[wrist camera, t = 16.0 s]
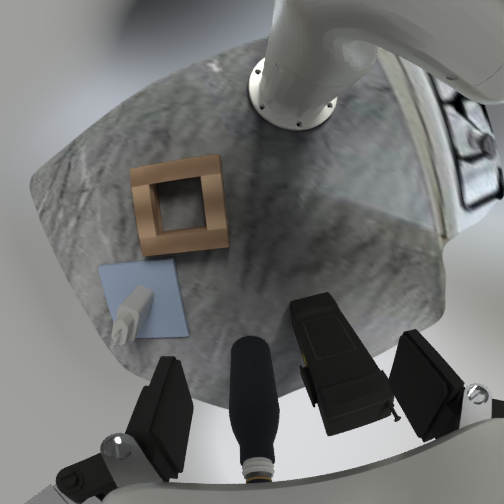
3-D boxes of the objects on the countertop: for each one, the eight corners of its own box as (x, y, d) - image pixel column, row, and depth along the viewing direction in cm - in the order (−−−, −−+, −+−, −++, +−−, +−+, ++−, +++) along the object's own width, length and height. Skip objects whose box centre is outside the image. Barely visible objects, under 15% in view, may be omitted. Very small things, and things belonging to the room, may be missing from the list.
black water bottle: (259, 329, 43) (281, 508, 14) (275, 357, 45) (306, 520, 16) (224, 344, 44) (212, 517, 15) (242, 370, 45) (246, 531, 16)
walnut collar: (138, 169, 36) (129, 169, 33) (220, 156, 36) (218, 154, 33) (150, 249, 39) (142, 256, 36) (230, 241, 39) (228, 247, 36)
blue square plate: (100, 265, 39) (97, 267, 38) (174, 257, 39) (172, 259, 39) (120, 334, 43) (118, 337, 42) (189, 333, 43) (188, 336, 42)
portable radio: (288, 334, 44) (323, 463, 19) (282, 303, 42) (320, 433, 18) (334, 322, 43) (398, 438, 19) (330, 290, 42) (407, 402, 18)
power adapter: (155, 290, 40) (126, 331, 28) (147, 319, 41) (121, 363, 29) (136, 283, 39) (103, 320, 28) (130, 312, 41) (100, 353, 29)
